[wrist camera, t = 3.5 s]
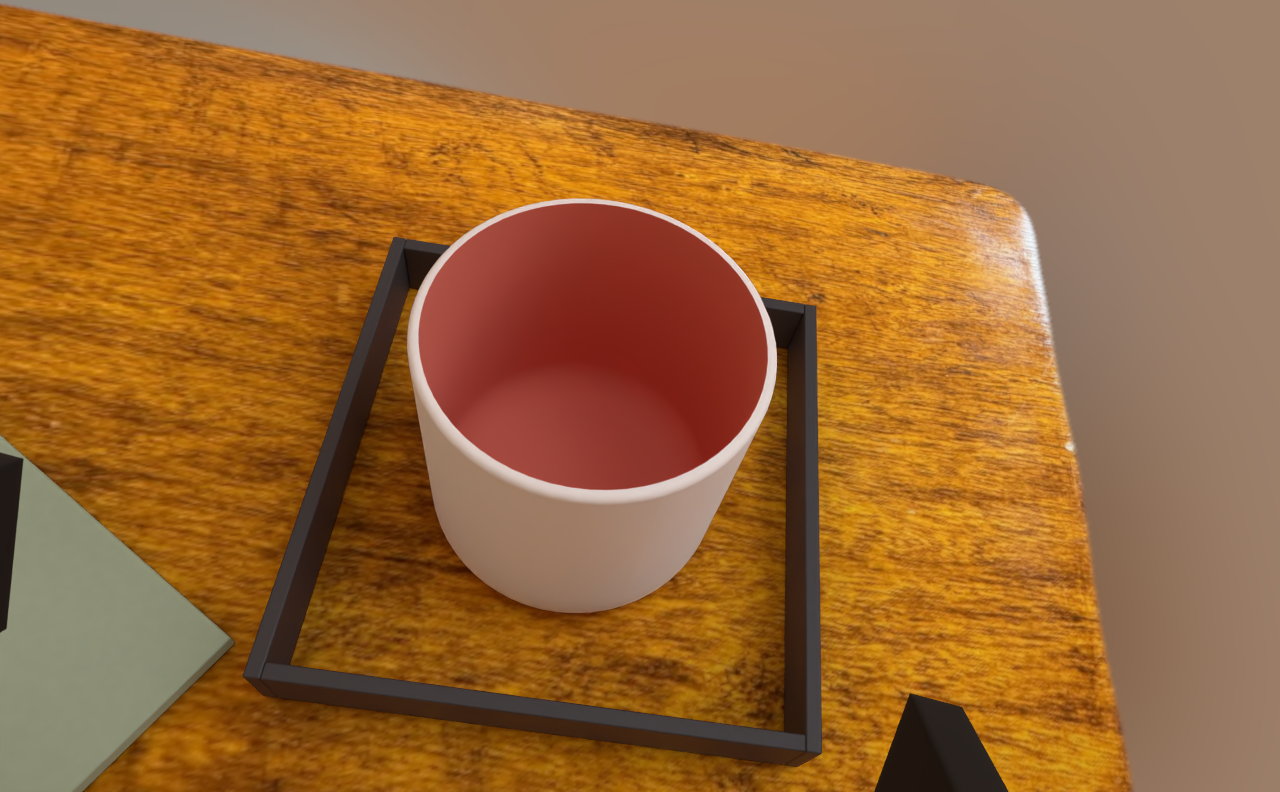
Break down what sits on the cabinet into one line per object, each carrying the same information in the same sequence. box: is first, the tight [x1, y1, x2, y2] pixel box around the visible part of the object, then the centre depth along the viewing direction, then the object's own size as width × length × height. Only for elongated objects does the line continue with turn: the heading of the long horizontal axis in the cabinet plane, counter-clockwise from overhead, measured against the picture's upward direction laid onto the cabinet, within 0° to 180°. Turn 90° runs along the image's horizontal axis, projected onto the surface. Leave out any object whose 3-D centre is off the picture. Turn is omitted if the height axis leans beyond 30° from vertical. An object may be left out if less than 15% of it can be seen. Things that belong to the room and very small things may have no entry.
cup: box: [407, 199, 777, 613], centre depth 27 cm, size 10×10×10 cm
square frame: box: [243, 237, 822, 767], centre depth 30 cm, size 17×17×2 cm
